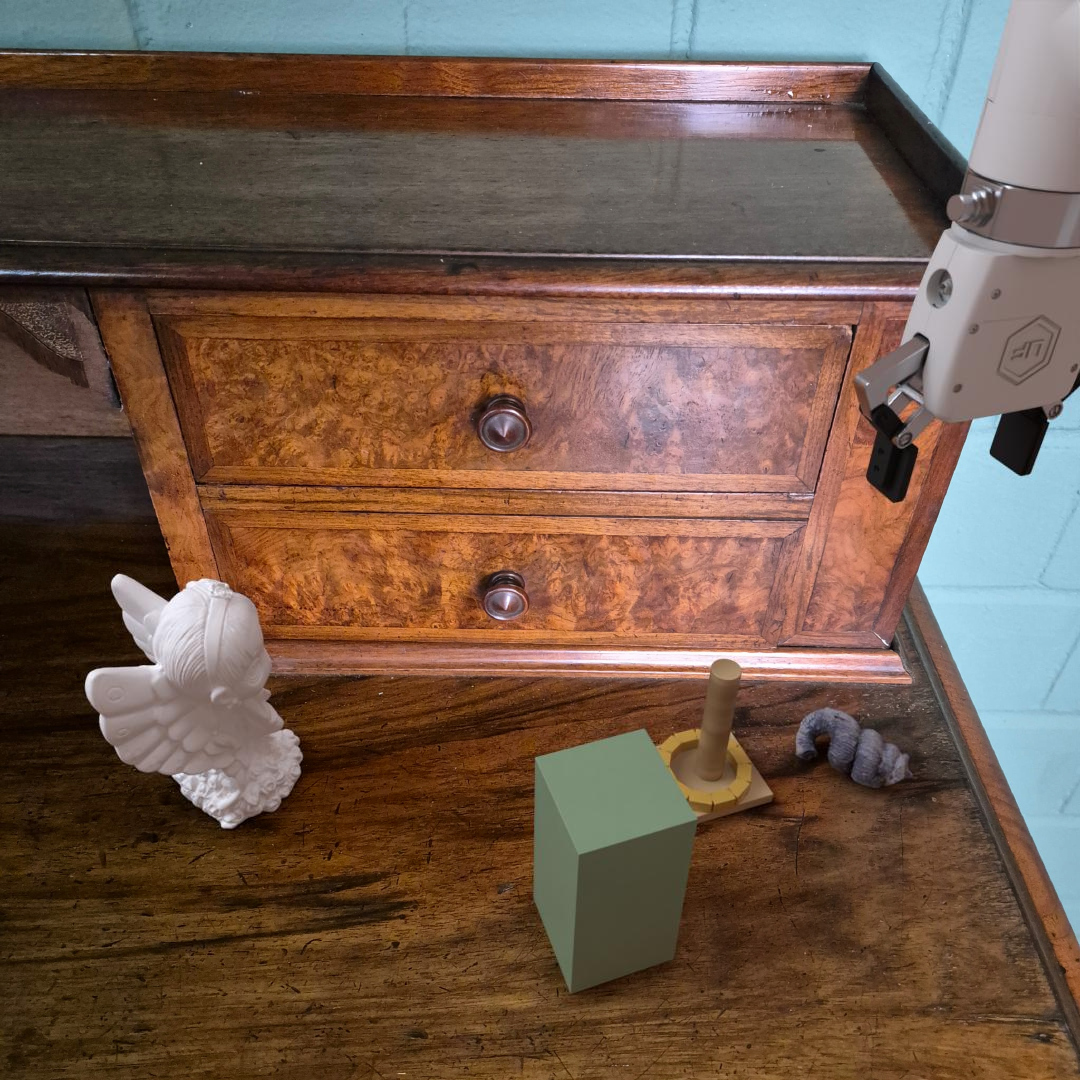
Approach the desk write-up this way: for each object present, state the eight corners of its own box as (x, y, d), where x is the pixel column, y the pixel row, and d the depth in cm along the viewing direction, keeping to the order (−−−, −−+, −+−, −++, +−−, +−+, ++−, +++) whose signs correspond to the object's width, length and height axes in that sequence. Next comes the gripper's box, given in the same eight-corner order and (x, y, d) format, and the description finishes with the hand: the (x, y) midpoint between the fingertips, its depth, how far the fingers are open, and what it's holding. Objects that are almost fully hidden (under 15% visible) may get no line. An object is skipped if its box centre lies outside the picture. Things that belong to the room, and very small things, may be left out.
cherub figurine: (299, 836, 77) (258, 654, 65) (138, 855, 75) (66, 673, 63) (305, 717, 87) (271, 541, 75) (164, 732, 85) (107, 555, 74)
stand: (674, 959, 69) (698, 819, 59) (570, 994, 66) (578, 854, 57) (629, 868, 75) (644, 727, 65) (533, 897, 72) (534, 757, 63)
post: (771, 801, 80) (798, 691, 72) (686, 827, 78) (704, 716, 70) (726, 733, 86) (746, 625, 78) (645, 756, 84) (658, 647, 76)
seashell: (789, 755, 86) (900, 805, 82) (785, 748, 81) (903, 801, 77) (812, 701, 87) (922, 748, 83) (809, 691, 82) (927, 740, 78)
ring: (766, 798, 79) (769, 789, 78) (679, 823, 77) (680, 813, 76) (722, 730, 85) (724, 720, 84) (640, 750, 83) (641, 741, 82)
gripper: (944, 248, 46) (868, 535, 56) (1213, 214, 50) (1097, 485, 61) (853, 203, 51) (799, 471, 62) (1102, 176, 56) (1014, 429, 66)
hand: (947, 477), depth 61 cm, fingers open, 9 cm apart
